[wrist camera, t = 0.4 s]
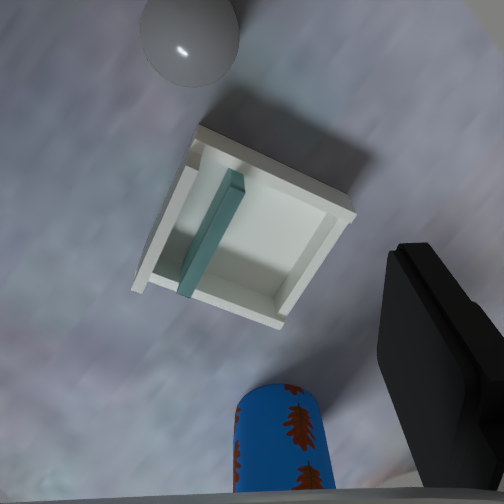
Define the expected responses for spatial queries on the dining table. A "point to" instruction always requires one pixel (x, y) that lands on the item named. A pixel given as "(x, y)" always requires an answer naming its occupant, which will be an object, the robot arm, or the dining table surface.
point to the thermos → (280, 442)
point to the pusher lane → (245, 230)
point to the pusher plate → (211, 231)
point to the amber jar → (190, 39)
